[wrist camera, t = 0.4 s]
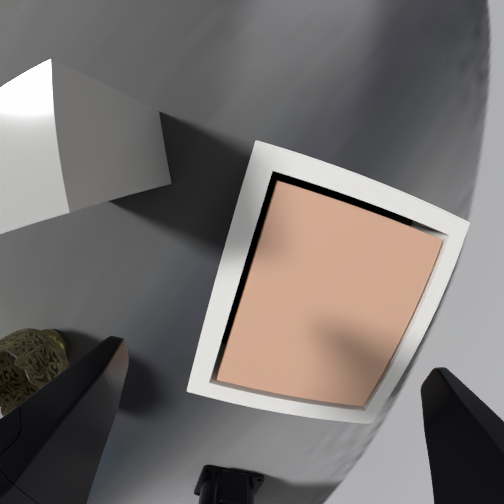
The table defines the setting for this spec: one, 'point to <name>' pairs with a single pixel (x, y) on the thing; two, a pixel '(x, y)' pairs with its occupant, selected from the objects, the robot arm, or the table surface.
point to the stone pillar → (72, 145)
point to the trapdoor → (325, 298)
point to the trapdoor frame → (234, 259)
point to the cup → (29, 364)
